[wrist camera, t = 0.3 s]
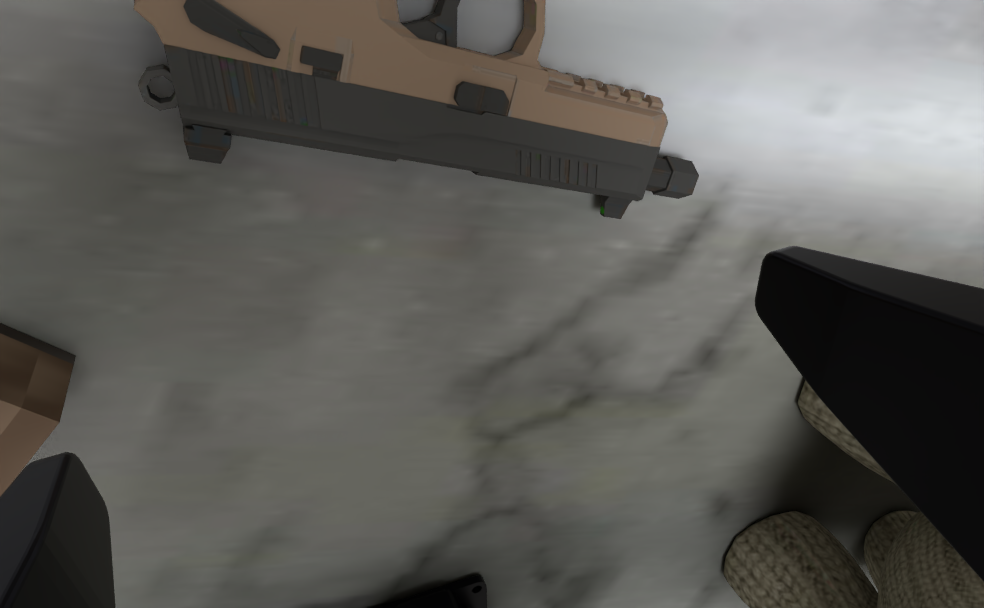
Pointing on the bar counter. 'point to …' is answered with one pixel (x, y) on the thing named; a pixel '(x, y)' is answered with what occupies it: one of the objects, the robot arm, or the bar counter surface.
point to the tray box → (28, 397)
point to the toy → (831, 569)
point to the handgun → (405, 95)
